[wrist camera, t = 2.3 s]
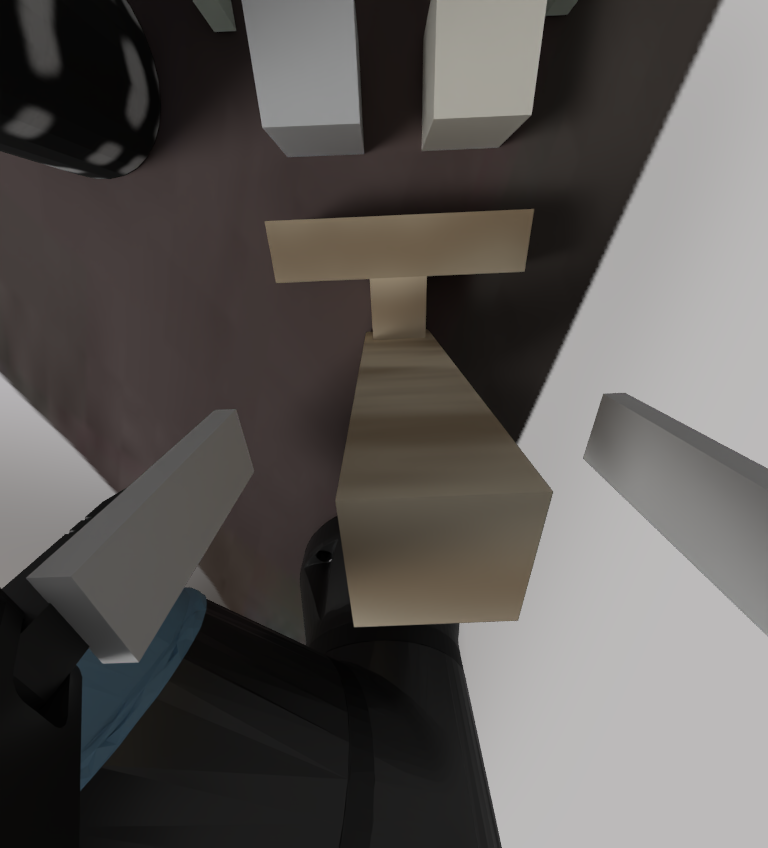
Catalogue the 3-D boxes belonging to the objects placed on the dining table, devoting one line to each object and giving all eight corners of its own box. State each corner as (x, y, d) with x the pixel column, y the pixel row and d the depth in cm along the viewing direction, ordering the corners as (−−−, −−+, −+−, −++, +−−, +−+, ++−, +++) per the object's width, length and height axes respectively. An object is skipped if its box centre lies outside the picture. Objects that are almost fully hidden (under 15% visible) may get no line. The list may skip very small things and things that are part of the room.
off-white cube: (497, 148, 16) (531, 114, 12) (421, 151, 16) (433, 119, 12) (509, 35, 14) (552, -41, 11) (422, 40, 14) (437, -36, 11)
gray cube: (364, 154, 16) (360, 123, 13) (288, 157, 16) (262, 127, 13) (358, 43, 14) (351, -31, 11) (272, 46, 14) (237, -26, 11)
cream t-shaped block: (482, 385, 22) (682, 614, 7) (313, 392, 22) (190, 633, 7) (501, 220, 17) (1095, 5, 3) (288, 230, 17) (-140, 65, 3)
